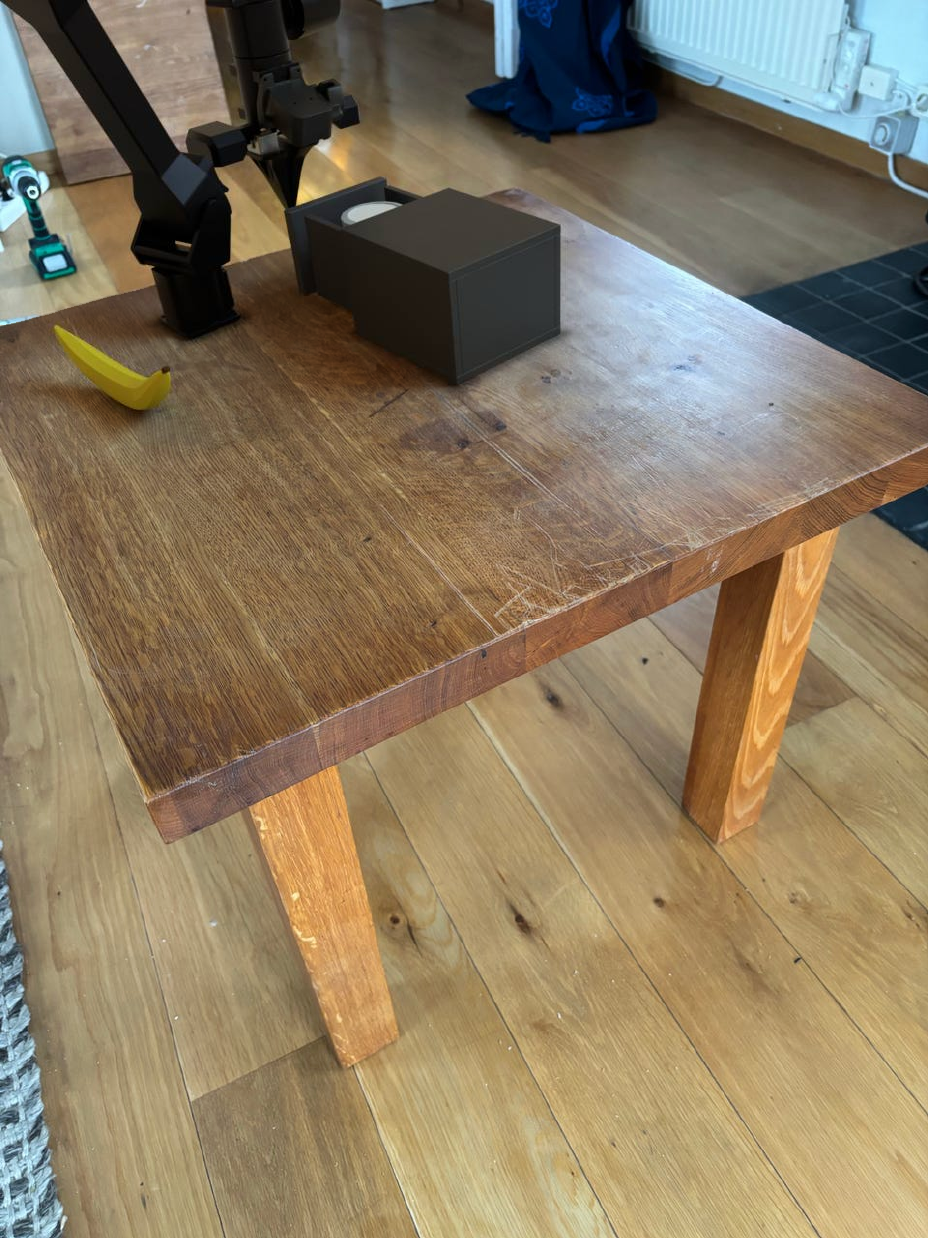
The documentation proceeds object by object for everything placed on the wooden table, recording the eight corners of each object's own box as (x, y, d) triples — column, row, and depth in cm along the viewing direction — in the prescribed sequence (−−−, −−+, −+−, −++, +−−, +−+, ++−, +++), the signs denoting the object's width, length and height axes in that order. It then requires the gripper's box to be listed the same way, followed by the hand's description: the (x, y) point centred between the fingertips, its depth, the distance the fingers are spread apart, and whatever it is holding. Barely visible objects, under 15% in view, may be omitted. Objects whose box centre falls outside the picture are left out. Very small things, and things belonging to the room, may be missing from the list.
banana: (85, 365, 96) (63, 305, 92) (200, 424, 87) (181, 360, 82) (59, 377, 95) (35, 316, 91) (173, 439, 85) (153, 374, 81)
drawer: (277, 282, 106) (260, 200, 100) (367, 247, 112) (356, 167, 106) (382, 334, 95) (370, 246, 89) (475, 292, 101) (470, 206, 95)
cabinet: (355, 333, 98) (339, 228, 91) (456, 289, 104) (448, 187, 97) (457, 385, 89) (448, 272, 82) (560, 333, 95) (561, 224, 88)
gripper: (223, 85, 89) (259, 253, 99) (382, 41, 97) (399, 201, 108) (164, 67, 95) (203, 227, 106) (318, 28, 104) (340, 180, 114)
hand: (290, 209), depth 108 cm, fingers closed
